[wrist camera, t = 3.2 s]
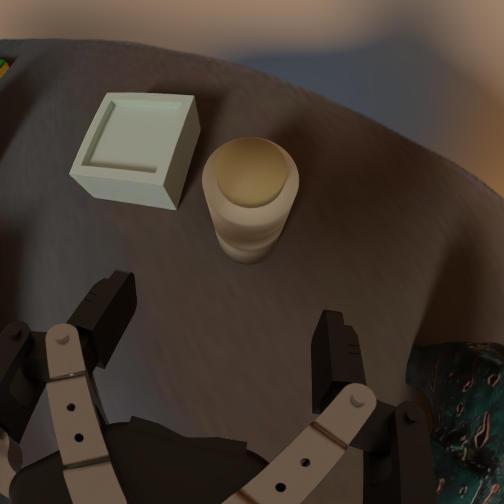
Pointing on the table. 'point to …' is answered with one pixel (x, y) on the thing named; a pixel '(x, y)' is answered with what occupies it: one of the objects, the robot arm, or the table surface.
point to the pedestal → (139, 148)
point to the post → (249, 196)
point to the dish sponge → (3, 67)
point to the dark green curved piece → (464, 418)
